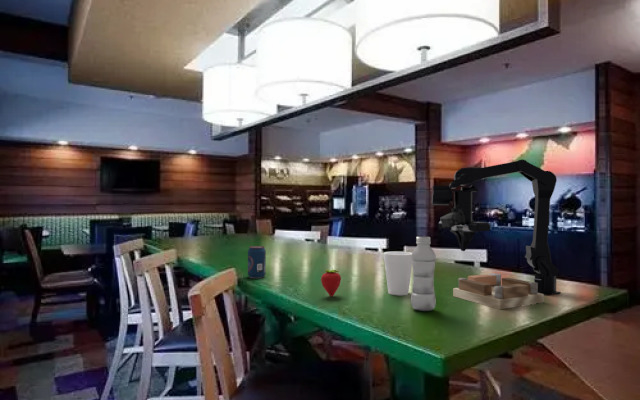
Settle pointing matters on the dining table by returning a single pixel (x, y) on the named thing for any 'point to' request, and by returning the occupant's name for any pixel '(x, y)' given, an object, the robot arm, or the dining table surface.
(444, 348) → the dining table surface
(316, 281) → the dining table surface
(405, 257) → the foam cup
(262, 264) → the soda can
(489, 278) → the hinged leg
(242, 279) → the dining table surface
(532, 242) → the robot arm
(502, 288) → the flat cream base board
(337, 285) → the strawberry
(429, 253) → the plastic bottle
